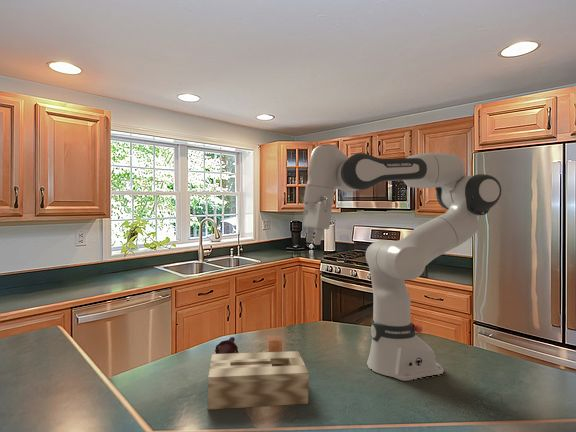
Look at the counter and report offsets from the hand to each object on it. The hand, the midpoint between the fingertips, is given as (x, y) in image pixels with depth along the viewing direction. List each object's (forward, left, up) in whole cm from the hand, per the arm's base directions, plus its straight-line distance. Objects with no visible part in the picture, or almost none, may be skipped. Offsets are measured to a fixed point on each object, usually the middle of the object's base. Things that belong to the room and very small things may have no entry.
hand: (312, 243), depth 103 cm
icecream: (+25, -9, -38) cm, 46 cm away
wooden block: (+10, -3, -38) cm, 39 cm away
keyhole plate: (+16, +11, -38) cm, 43 cm away
